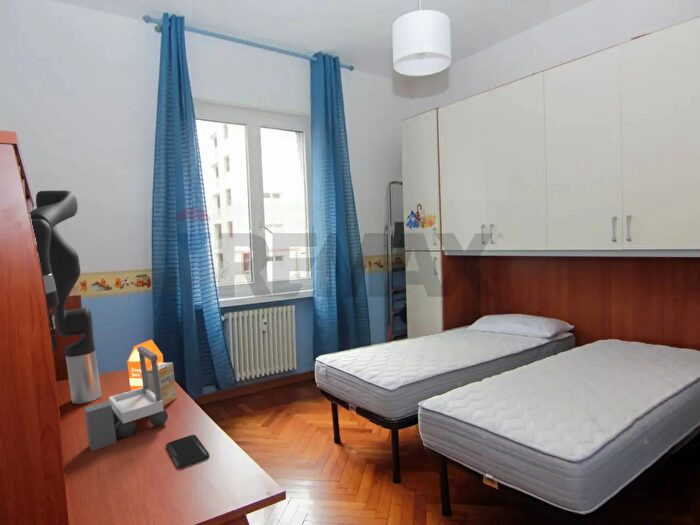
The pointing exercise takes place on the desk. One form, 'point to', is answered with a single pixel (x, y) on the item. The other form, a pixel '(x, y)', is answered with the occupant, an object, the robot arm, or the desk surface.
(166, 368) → the supplement box
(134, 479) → the desk surface
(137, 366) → the orange juice
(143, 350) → the trolley
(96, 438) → the block
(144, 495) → the desk surface
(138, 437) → the desk surface
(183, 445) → the phone
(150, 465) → the desk surface
